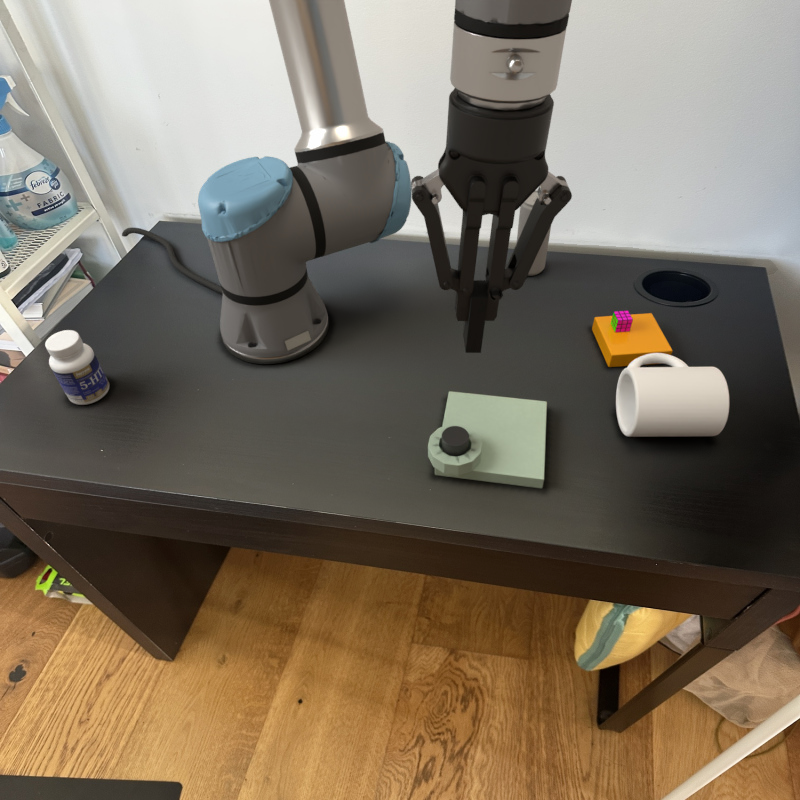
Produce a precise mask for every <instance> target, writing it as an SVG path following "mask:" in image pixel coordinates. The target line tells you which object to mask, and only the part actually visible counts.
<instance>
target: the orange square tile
mask: <svg viewBox="0 0 800 800" xmlns="http://www.w3.org/2000/svg"><path fill="white" fill-rule="evenodd" d="M591 331H592V333H593V335H594V337H595V338H594V339H595V340H596V342H597V344H598V347H599V349H600V351H601V353H602V356H603V358H604V361H605V363H606V365H607V367H608V368H616V367H618V368H621V367H628V365H629V364H630V363H631V362H632V361H633V360H635V359H636V358H638V357H640V356H643V355H646V354H651V353H664V354H668V355H671V356H672V355H673V351H674V350H673V349H672V347H671V344H670V343H669V341H668V340H667V338H666V336H665V334H664V333H663V331H662V329H661V327H660V325H659V323H658V322H657V320H656V318H655V316H654V315H653V313H652V312H649V313H647V312H646V313H635V314H633V313H630V311H629V310H615V311H613V312H612V315H604V316H595V317H594V318H593V322H592V327H591ZM648 365H649V364H645V365H644V366H648ZM653 365H661V363H654V364H653Z"/></svg>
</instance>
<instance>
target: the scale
mask: <svg viewBox="0 0 800 800" xmlns="http://www.w3.org/2000/svg"><path fill="white" fill-rule="evenodd" d="M547 412H548V402H547V400H545V401H544V400H536V399H528V398H527V399H526V398H517V397H510V396H509V397H507V396H500V395H499V396H498V395H490V394H489V395H488V394H481V393H480V394H479V393H469V392H460V391H448V395H447V399H446V404H445V409H444V416H443V420H442V426H440V427H438V428H437V429H436V430H435V431H433V432H432V434H431V435H430V436H429V439H428V444H427V458H428V459H429V461H430V463H431V465H432V467H433V468H434V475H435V476H440V477H449V478H457V479H465V480H473V481H479V482H487V483H495V484H502V485H512V486H519V487H527V488H535V489H543V487H544V482H545V467H546V441H547V440H546V438H547V416H548V415H547ZM451 426H460V427H462V428H464V429H466V430H467V432H468V433H469V448H468V450H467V452H466V453H465V454H463V455H461V456H450V455H448V454H446V453H445V452H444V451H443V449H442V433H443V431H444V430H445V429H446V428H448V427H451Z"/></svg>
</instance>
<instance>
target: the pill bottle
mask: <svg viewBox="0 0 800 800" xmlns="http://www.w3.org/2000/svg"><path fill="white" fill-rule="evenodd" d="M44 346H45V349H46V351H47V353H48V354H49V359H48V365H49V368H50V369H51V371H52V373H53V374H54V377H55V378H56V380H57V381H58V384H59V385H60V387H61V389H62V390H63V392H64V394H65V395H66V397H67V398H68V400H69V401H70V402H71V403H72V404H75V405H80V406H85V405H90V404H93V403H96V402H98V401H100V400H101V399H103V398H104V397H105V396H106V395H107V394H108V392H109V390H110V382H109V379H108V377H107V376H106V373H105V372H104V370H103V368H102V365H101V363H100V362H99V360H98V358H97V355H96V354H95V352H94V350H93V348H92V347H91V346H90V345H89V344H87V343H84V341H83V339H82V338H81V336H80V334H79V333H78V331H76V330H72V329H66V330H65V329H64V330H61V331H58V332H55V333H53V334H51V335H50V336H49V337H48V338H47V339H46V340H45V343H44Z"/></svg>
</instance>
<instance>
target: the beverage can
mask: <svg viewBox="0 0 800 800" xmlns="http://www.w3.org/2000/svg"><path fill="white" fill-rule="evenodd" d="M537 190H538V189H536V190H535V191H534V192H533V193H532V194H531V196H530V197H529V198H528V199H527V200H526V201H525V202H524V203H523V204H522V205H521V206H520V207H519V214H518V224H517V233H516V234H517V236H516V244H517V242H518V239H519V237H520V235H521V233H522V230H523V228H524V226H525V223H526V221H527V219H528V217H529V214H530V212H531V210H532V207H533V205H534V203H535V201H536V199H537V198H538V196H537ZM551 228H552V225H551V226H550V228H549V231H548V233H547V235H546V237H545V239H544V241H543V243H542V245H541V248H540V250H539V252H538V254H537V256H536V258H535V260H534V262H533V265H532V267H531V269H530V271H529V273H528V275H527V277H531V276H536V275H539V274H540V273H542V272H543V270H545V268H546V262H547V255H548V248H549V242H550V235H551ZM516 244H515V245H516Z"/></svg>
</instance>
